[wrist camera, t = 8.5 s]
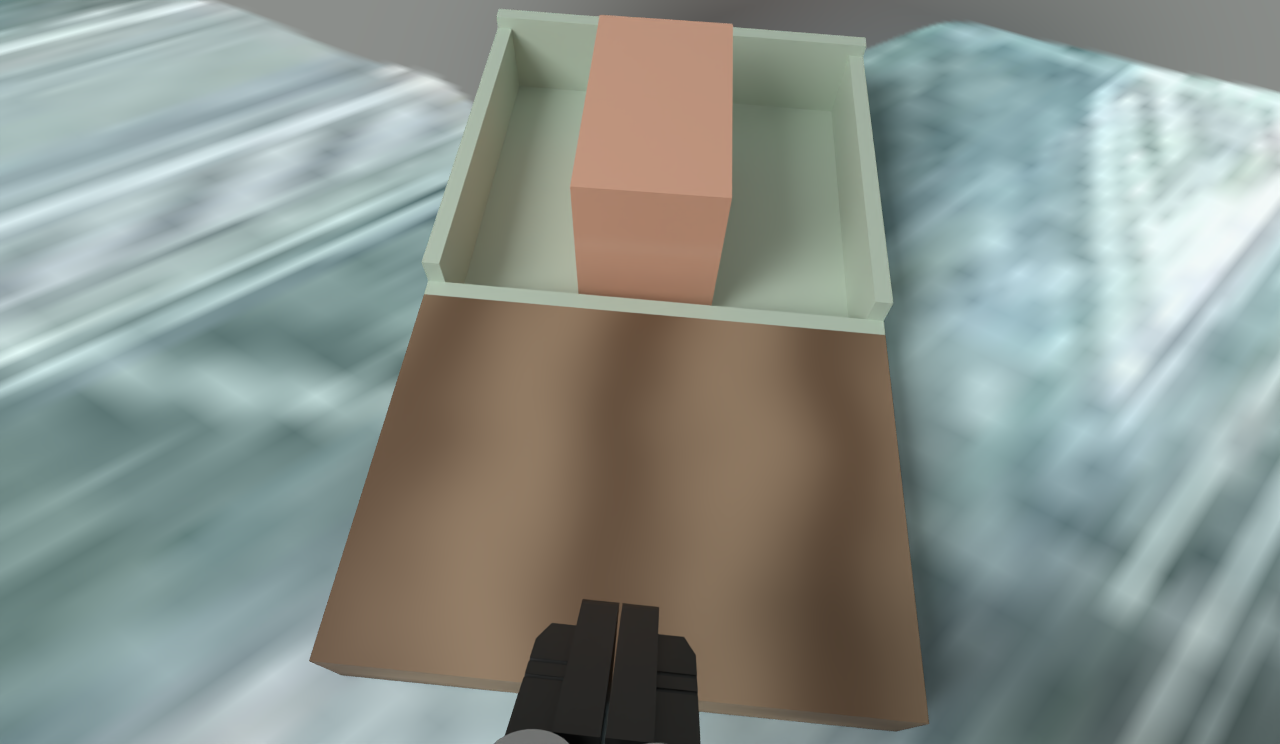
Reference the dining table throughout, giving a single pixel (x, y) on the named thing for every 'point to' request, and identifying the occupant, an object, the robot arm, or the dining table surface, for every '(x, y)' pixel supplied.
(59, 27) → the dining table surface
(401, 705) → the dining table surface
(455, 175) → the tray
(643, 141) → the salmon-coloured block
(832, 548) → the board
